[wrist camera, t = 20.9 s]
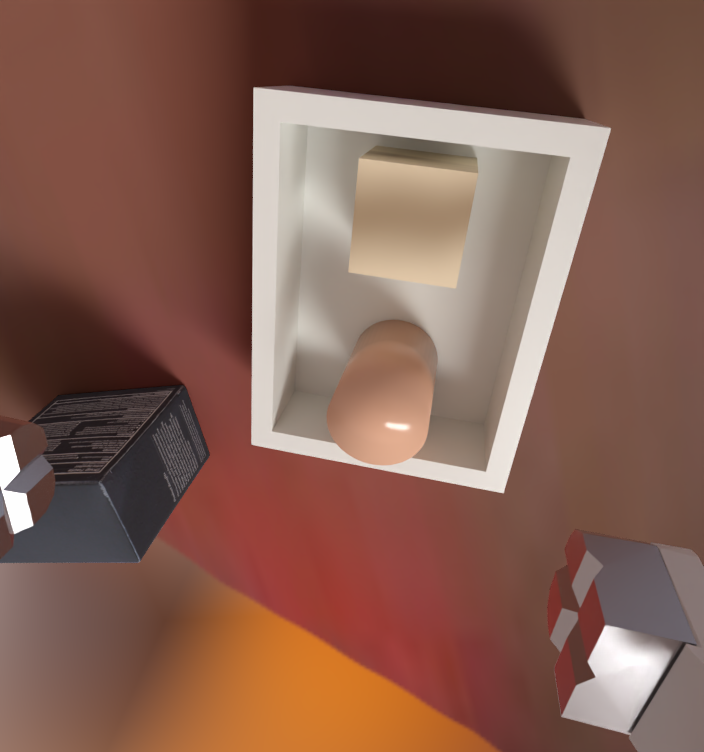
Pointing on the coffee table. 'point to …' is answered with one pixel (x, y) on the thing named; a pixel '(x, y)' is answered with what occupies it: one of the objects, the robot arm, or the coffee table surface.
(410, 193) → the maple cube
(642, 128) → the coffee table surface
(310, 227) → the white tote
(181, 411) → the small box
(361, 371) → the peach capsule
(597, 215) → the coffee table surface
